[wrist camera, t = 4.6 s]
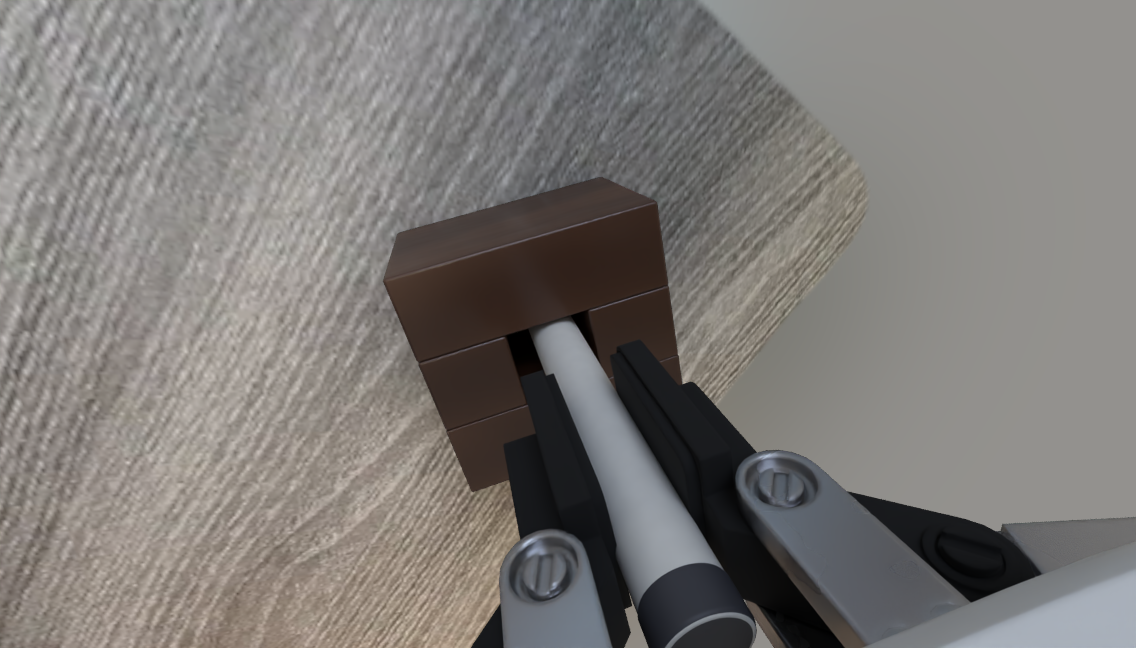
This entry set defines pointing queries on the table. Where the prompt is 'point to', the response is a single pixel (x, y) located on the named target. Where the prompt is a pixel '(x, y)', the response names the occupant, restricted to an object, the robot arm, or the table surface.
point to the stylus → (644, 510)
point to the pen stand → (526, 303)
